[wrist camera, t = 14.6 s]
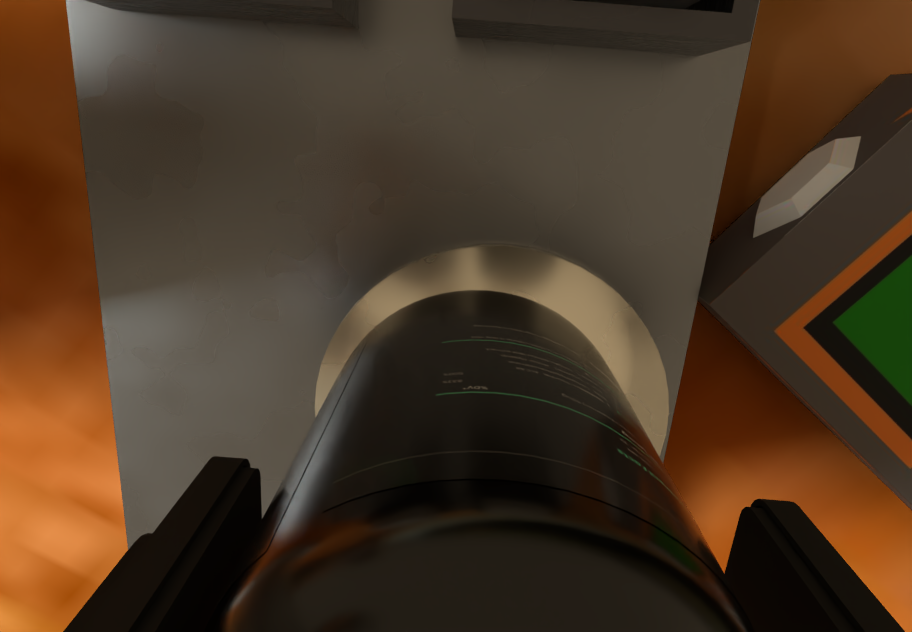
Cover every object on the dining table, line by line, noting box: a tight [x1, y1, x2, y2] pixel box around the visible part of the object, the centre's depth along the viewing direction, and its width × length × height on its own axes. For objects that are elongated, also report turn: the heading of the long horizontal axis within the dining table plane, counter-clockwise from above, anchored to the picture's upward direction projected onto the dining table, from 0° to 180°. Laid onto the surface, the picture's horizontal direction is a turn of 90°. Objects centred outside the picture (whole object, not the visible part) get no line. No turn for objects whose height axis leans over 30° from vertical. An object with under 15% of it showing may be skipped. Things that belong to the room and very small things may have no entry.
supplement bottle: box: [204, 290, 755, 632], centre depth 9 cm, size 7×7×12 cm
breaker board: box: [66, 0, 760, 550], centre depth 13 cm, size 14×22×4 cm, turn 176°
